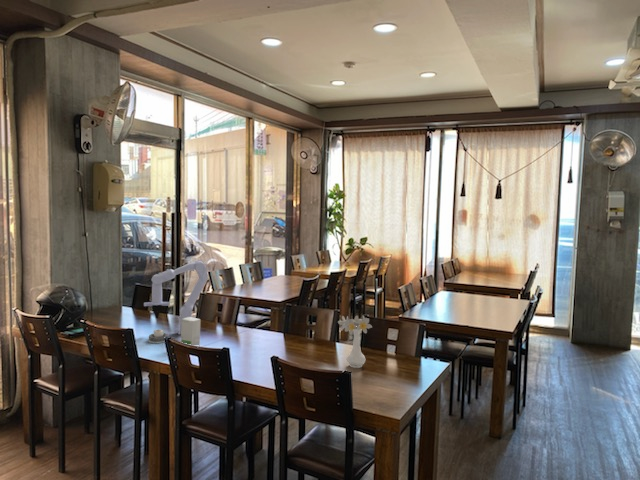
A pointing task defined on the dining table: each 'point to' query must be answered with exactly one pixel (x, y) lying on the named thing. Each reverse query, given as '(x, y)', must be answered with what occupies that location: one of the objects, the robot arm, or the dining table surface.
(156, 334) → the cap
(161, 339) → the round grey ashtray
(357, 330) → the flower vase
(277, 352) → the dining table surface
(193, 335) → the skincare box
